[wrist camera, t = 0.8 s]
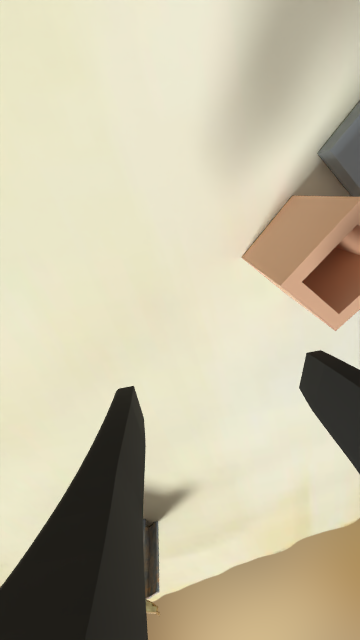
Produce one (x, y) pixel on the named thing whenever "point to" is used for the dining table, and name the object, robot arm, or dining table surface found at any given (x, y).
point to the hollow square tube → (314, 255)
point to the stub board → (345, 152)
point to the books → (151, 564)
